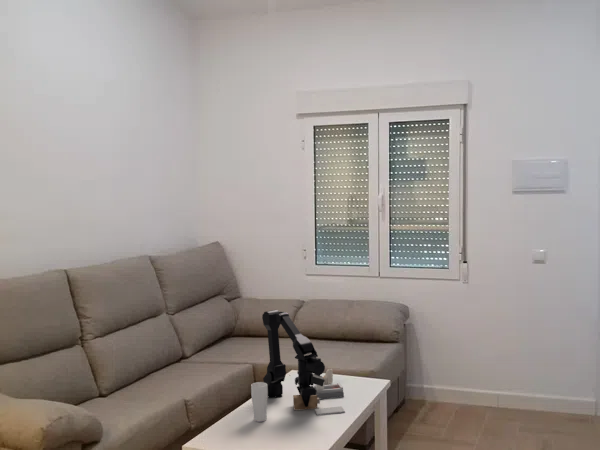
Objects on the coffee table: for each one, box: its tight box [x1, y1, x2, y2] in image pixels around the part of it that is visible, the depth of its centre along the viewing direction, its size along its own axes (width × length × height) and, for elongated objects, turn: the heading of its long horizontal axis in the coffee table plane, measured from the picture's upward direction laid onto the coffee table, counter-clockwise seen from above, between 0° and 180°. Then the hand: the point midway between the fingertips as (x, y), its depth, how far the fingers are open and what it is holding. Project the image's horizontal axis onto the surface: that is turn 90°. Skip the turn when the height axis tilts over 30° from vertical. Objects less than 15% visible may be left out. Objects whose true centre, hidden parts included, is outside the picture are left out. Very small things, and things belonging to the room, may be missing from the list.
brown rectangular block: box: [292, 394, 321, 411], centre depth 266 cm, size 11×3×6 cm, turn 100°
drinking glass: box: [250, 381, 268, 423], centre depth 253 cm, size 7×7×15 cm
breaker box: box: [313, 382, 345, 400], centre depth 282 cm, size 13×9×4 cm
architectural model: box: [322, 368, 334, 385], centre depth 299 cm, size 3×7×7 cm, turn 152°
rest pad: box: [313, 406, 346, 416], centre depth 260 cm, size 12×6×1 cm, turn 100°
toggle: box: [315, 384, 324, 390], centre depth 281 cm, size 3×4×4 cm
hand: (305, 405), depth 266 cm, fingers closed on brown rectangular block, 3 cm apart
